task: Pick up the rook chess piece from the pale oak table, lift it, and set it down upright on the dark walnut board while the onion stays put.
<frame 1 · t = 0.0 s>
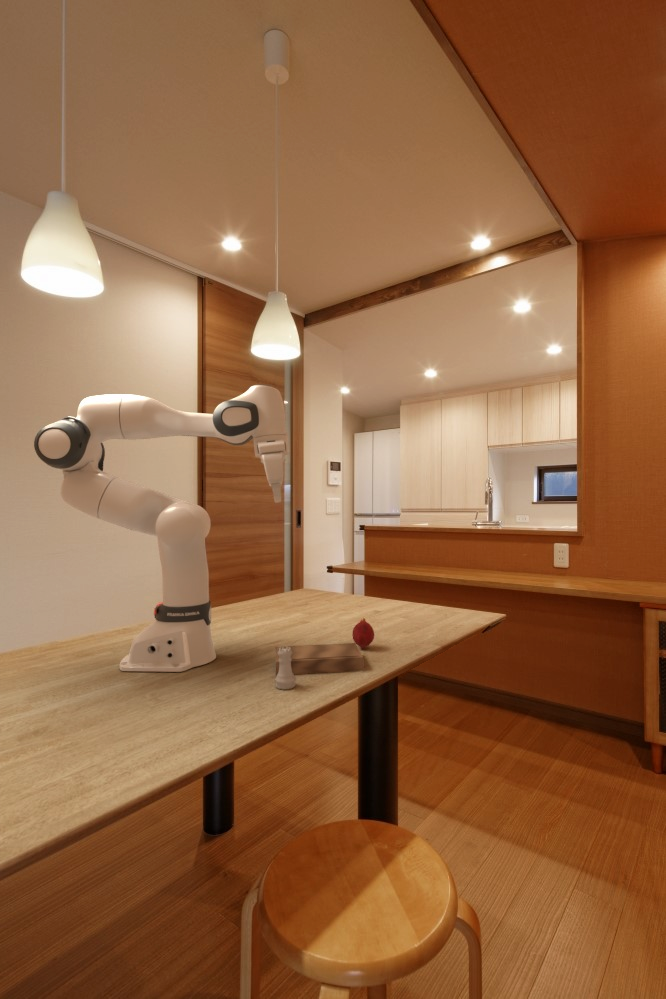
hand: (277, 502, 126), 39 cm above the table, tool pointing down, fingers open, 8 cm apart
rook chess piece: (285, 687, 104), on the table
onion: (363, 649, 130), on the table
walnut board: (318, 664, 118), on the table
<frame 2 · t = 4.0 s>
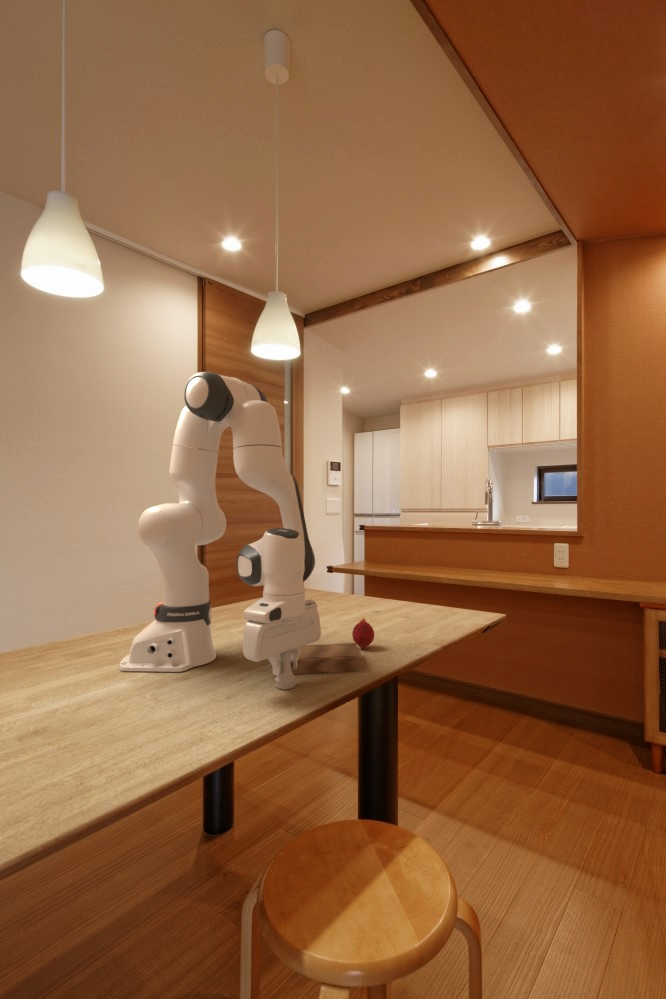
hand: (285, 671, 104), 3 cm above the table, tool pointing down, fingers closed on rook chess piece, 3 cm apart
rook chess piece: (285, 687, 104), on the table, touching gripper
everything else where it was.
when the fingers open (8 cm above the table, at t = 8.5 s): rook chess piece stays where it is, resting on walnut board.
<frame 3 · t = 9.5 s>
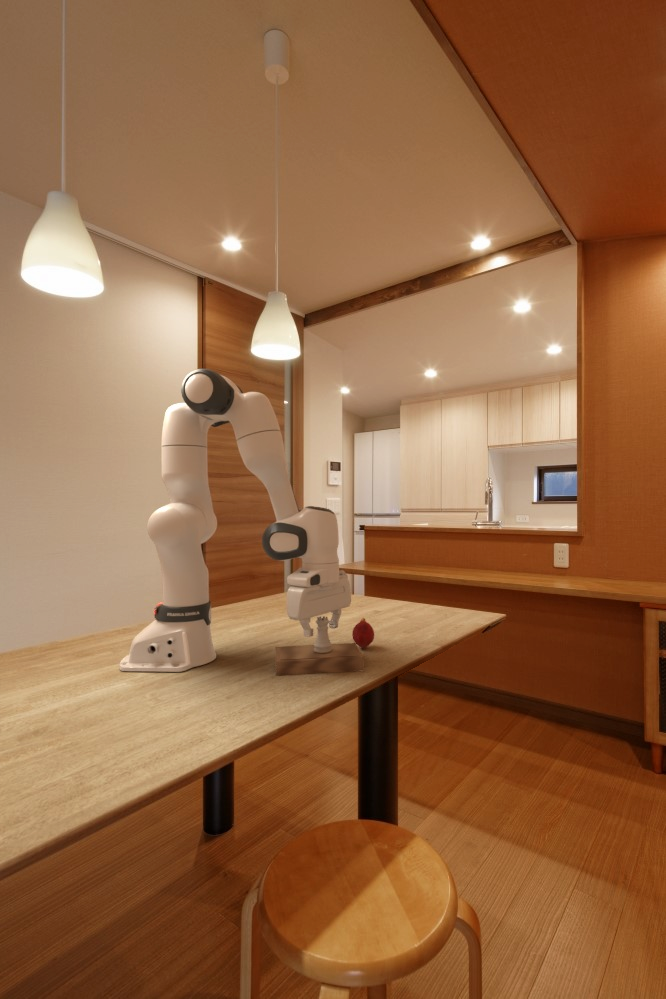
hand: (321, 632, 118), 8 cm above the table, tool pointing down, fingers open, 8 cm apart
rook chess piece: (322, 652, 118), point 3 cm above the table, touching walnut board
everything else where it was.
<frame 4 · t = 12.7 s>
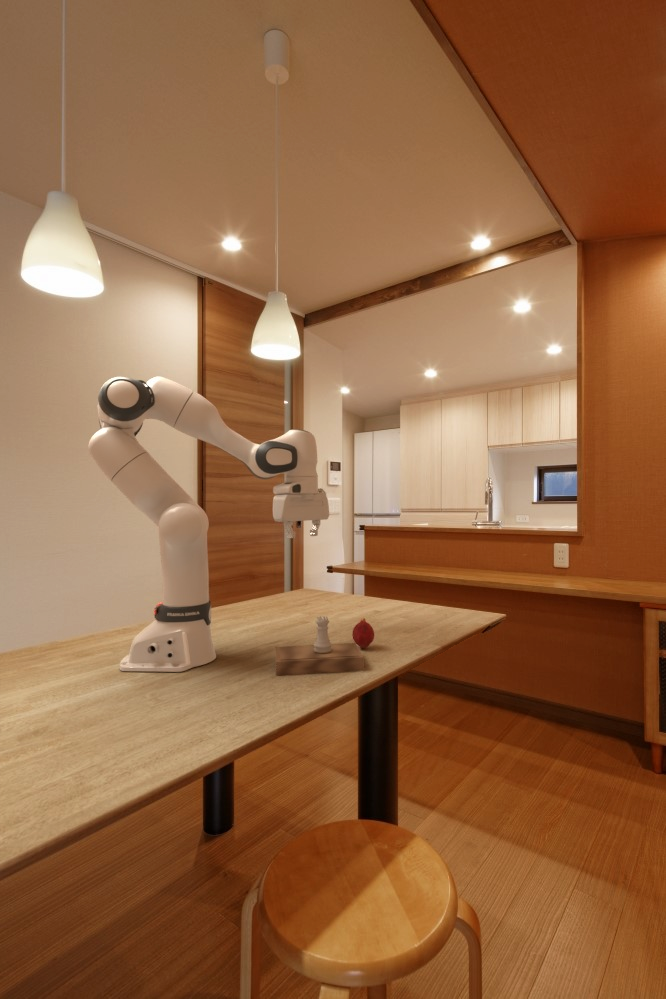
hand: (302, 537, 139), 29 cm above the table, tool pointing down, fingers open, 8 cm apart
nothing on the table moved.
at the end: rook chess piece inside the target area on the walnut board (1.2 cm from its centre), point 3.0 cm above the walnut board's base; rook chess piece tilted 0°; the gripper is holding nothing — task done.
